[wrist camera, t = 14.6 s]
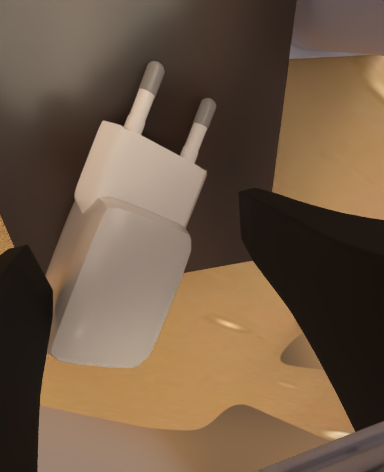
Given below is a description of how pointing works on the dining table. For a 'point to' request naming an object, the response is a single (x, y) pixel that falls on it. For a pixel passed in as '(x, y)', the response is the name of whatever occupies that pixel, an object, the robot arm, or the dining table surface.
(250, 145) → the stool
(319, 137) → the dining table surface
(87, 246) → the power adapter
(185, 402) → the dining table surface
